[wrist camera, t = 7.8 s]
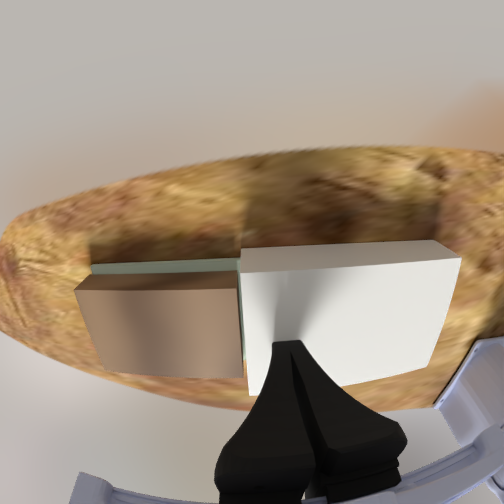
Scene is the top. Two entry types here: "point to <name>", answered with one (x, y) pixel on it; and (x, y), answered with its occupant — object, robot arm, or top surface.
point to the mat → (175, 267)
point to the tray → (347, 305)
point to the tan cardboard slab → (165, 323)
